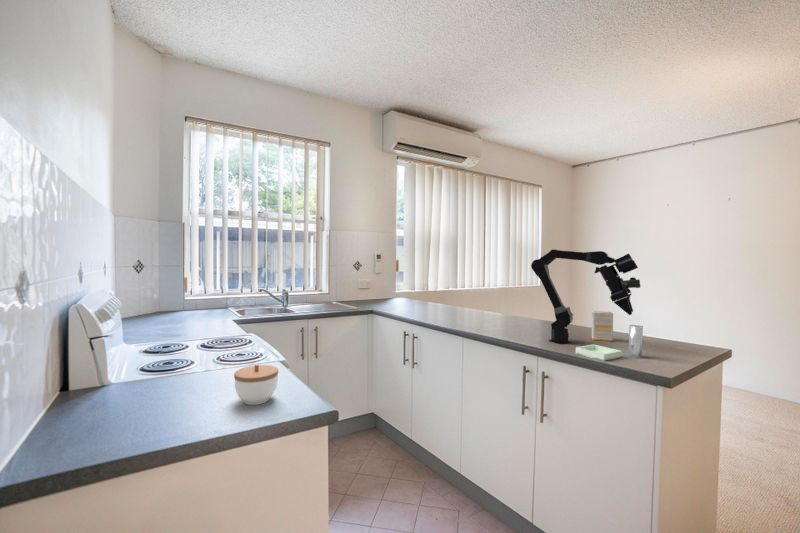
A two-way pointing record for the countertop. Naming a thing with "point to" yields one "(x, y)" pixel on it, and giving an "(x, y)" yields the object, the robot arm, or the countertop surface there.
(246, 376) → the lidded jar
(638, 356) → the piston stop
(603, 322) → the supplement box
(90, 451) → the countertop surface
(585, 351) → the tray
